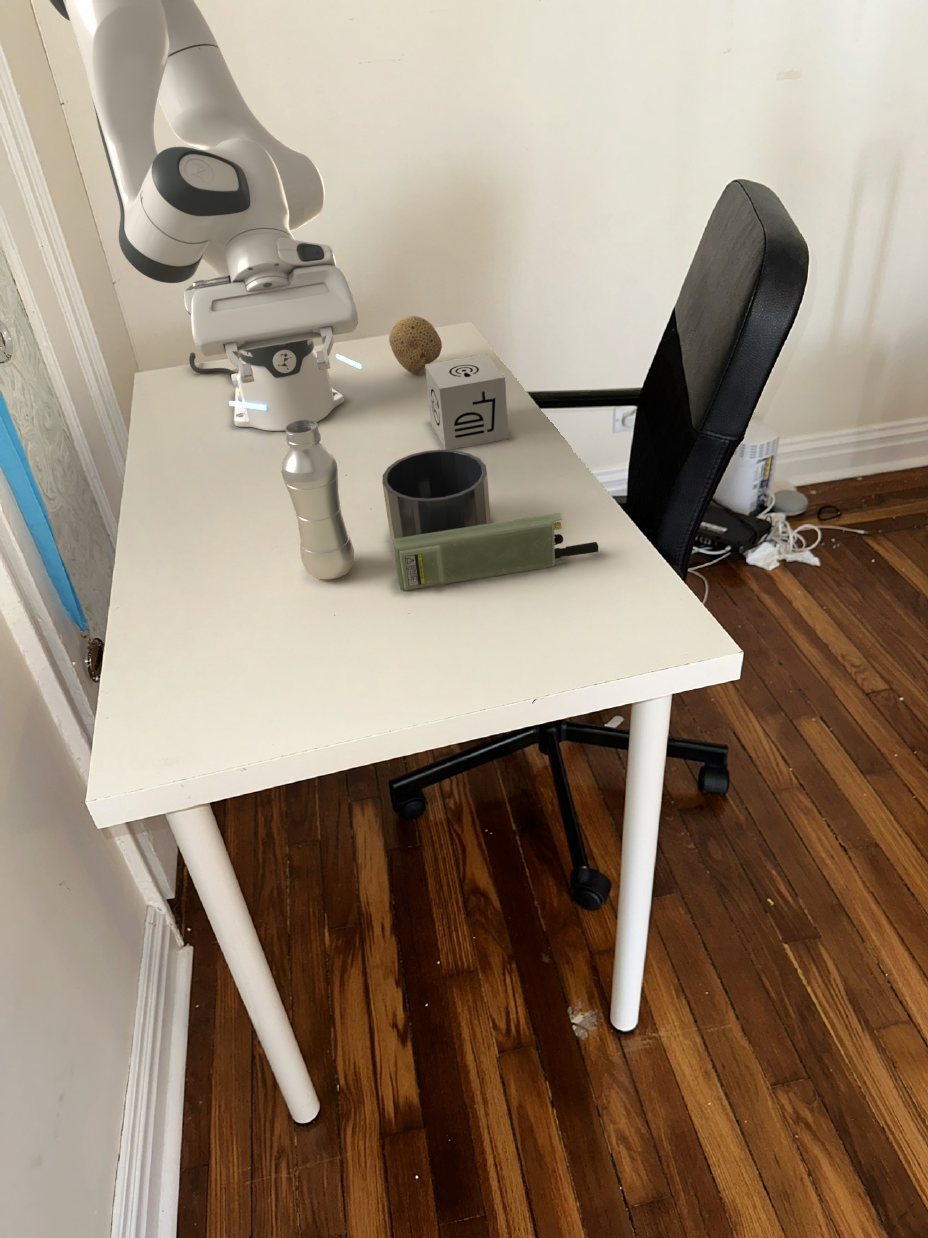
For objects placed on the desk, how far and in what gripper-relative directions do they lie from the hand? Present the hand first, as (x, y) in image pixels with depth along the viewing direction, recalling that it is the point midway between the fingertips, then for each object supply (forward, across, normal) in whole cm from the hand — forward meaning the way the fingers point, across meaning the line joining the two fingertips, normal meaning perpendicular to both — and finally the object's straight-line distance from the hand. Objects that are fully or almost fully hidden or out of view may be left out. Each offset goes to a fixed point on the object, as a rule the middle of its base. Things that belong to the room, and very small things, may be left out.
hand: (286, 374), depth 112 cm
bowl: (+21, +16, +10) cm, 28 cm away
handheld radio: (+29, +21, +2) cm, 36 cm away
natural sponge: (-18, +22, +49) cm, 57 cm away
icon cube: (+1, +26, +30) cm, 40 cm away
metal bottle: (+24, 0, +7) cm, 25 cm away
